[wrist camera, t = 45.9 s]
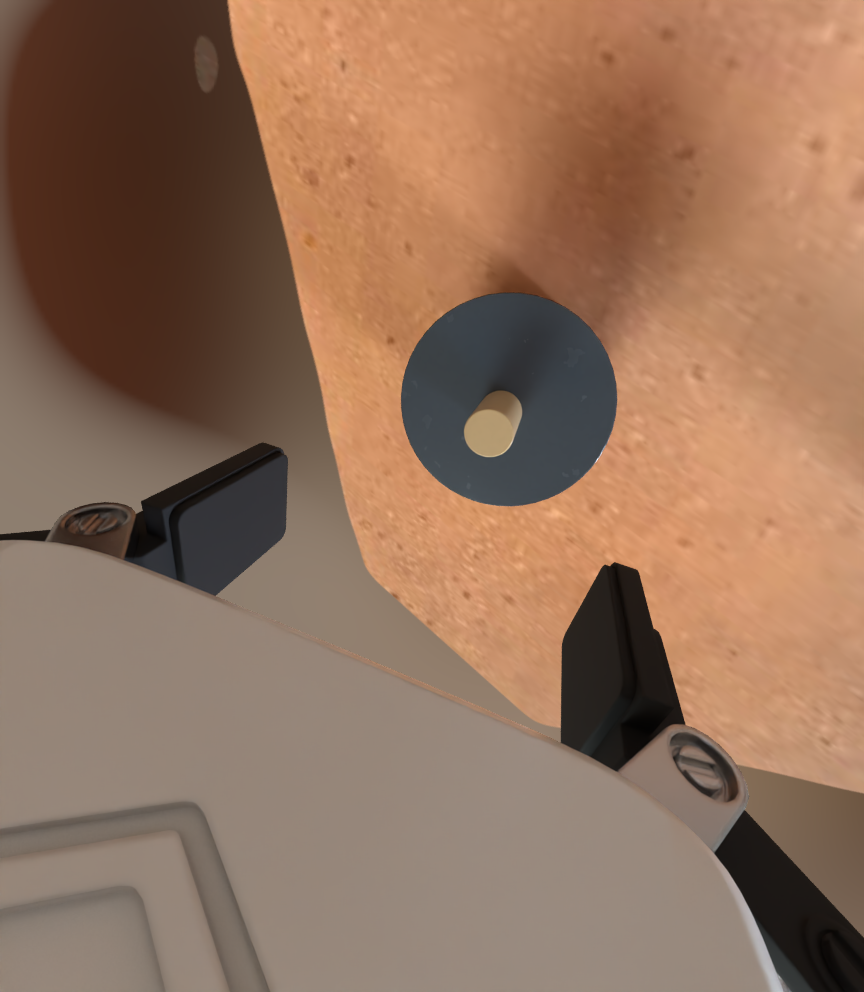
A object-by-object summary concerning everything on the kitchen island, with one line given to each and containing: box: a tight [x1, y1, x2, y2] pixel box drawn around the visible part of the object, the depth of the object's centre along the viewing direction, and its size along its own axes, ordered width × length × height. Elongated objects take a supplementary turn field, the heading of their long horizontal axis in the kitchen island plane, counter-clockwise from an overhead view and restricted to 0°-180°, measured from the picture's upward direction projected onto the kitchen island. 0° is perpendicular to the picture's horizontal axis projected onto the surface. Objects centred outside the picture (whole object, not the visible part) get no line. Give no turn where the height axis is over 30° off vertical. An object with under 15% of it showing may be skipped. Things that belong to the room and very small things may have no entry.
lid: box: [401, 293, 617, 506], centre depth 23 cm, size 13×13×6 cm
